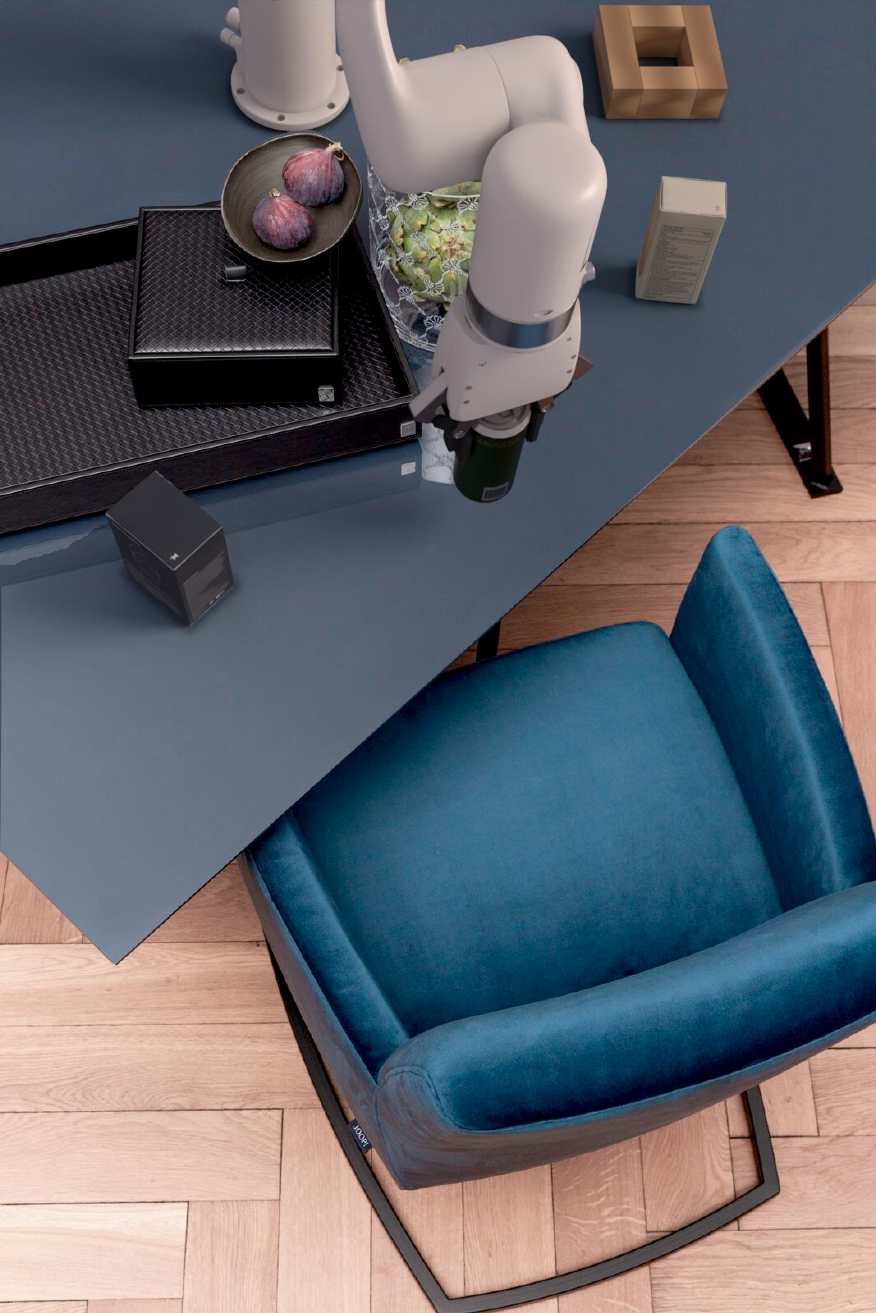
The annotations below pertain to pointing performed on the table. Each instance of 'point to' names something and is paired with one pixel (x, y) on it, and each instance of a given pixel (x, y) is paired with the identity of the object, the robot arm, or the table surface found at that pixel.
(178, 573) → the box
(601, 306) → the table surface
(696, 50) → the holder
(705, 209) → the cosmetic box
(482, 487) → the beer can
